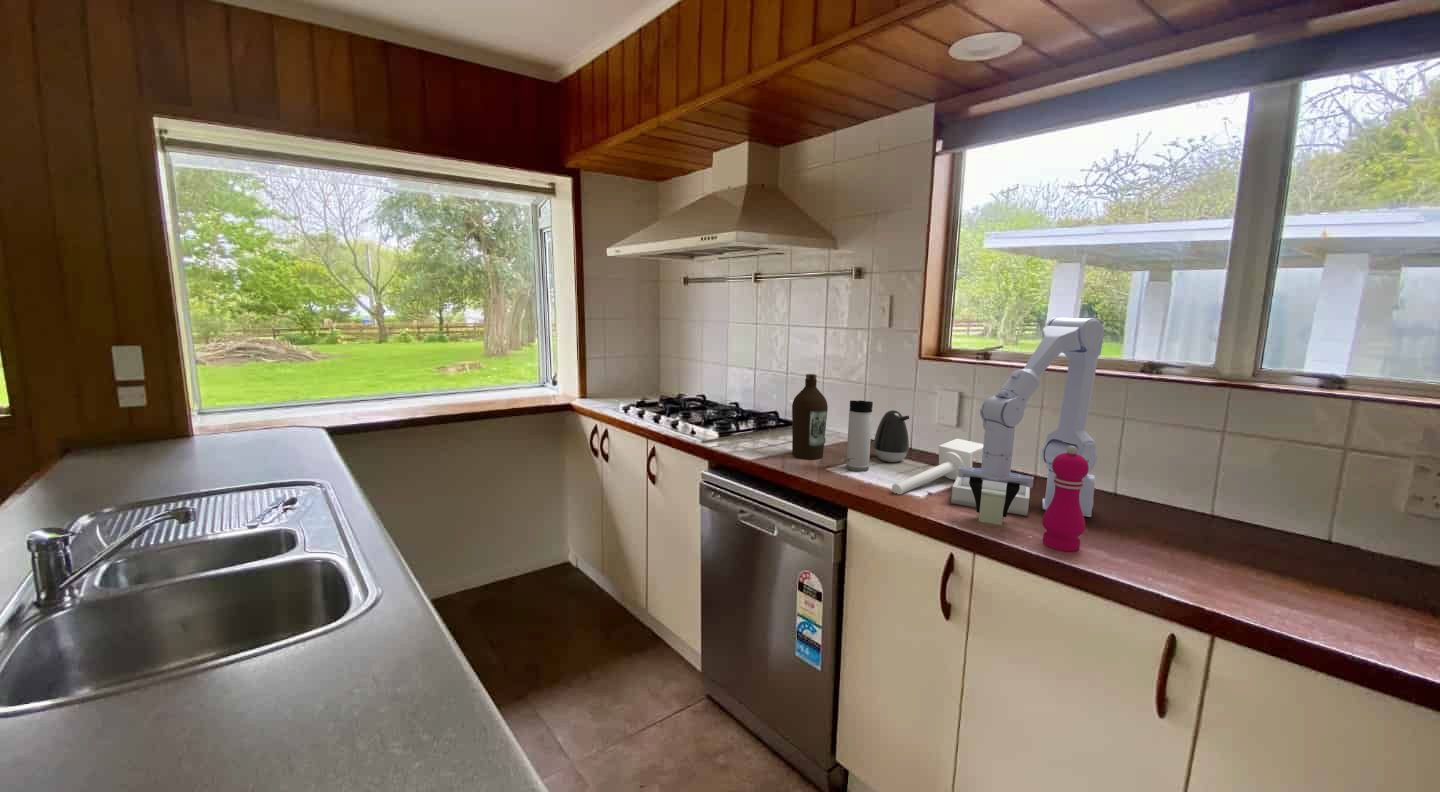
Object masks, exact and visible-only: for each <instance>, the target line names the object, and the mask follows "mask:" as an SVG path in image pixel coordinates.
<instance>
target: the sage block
mask: <svg viewBox="0 0 1440 792" xmlns="http://www.w3.org/2000/svg"><path fill="white" fill-rule="evenodd" d="M1004 502H1005V492H999V491H992V490H986V489H983V491H982V494H981V502H980V513H978V514H979V517H978V522H981V521H982V523H986V522H987V524H992V523H993V525H998V524H999V525H998V526H1002V525H1003V519H1004V517H1003V510H1004Z"/></svg>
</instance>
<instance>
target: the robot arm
mask: <svg viewBox="0 0 1440 792" xmlns="http://www.w3.org/2000/svg"><path fill="white" fill-rule="evenodd" d="M1041 331H1042V332H1041V337H1042V340H1041V341H1040V343H1039V344H1038V345H1037V347H1036V349H1035V351H1034V352H1033V354H1031V357H1030V358H1029V359H1028V360H1027V363H1026V364H1025V366H1024V368H1022V369H1019V368H1018V369H1015V370H1014V371H1012V373H1011V374H1010V376H1009V377H1008V379H1007V380H1006V381H1005V383H1004V384H1003V385H1002V387H1000V389H999V390H998V392H997V393H996V394H995V395H992V396H991V397H988V398H987V399H985V400H984V402H983V403H982V405H981V408H980V409H979V415H980V418H981V419H982V427H983V429H984V433H983V434H984V435H983V436H984V437H983V443H982V444H983V450H982V458H981V466H980V467H979V468H978V467H972V468H967V467H960V468H959V473H958V477H961V478H963V477H967V478H970V481H969V484H970V487H971V489H972V492H973V494H974V498H975V502H976V507H975V508H976V513H977V514H979V513H980V502H981V493H982V484H983V480H988V481H994V482H1001V483H1007V487H1006V497H1005V505H1004V510H1003V518H1007V514H1008V513H1007V512H1008V509H1009V506H1010V504H1011V502H1012V501H1013V499H1014V497H1015V496H1016V495H1017V493H1018V492H1019V489H1020V485H1022V486H1027V487H1029V488H1030V489H1032V488H1033V487H1034V476H1029V475H1024V474H1020V473H1016V472H1015V473H1014V472H1011V469H1012V459H1013V449H1014V439H1015V431H1016V430H1015V429H1016V426H1018V424H1020V422H1022V420H1023V418H1024V413H1025V409H1026V407H1027V403H1028V401H1029V400H1030V399H1031V397H1032V396H1033V395H1034V393H1035V392H1036V391H1037V389H1038V388H1039V387H1040V386H1041V385H1040V384H1041V382H1040V379H1039V378H1040V376H1041V375H1043V373H1044V372H1045V371H1046V370H1047V369H1048V367H1050V366H1051V364H1052V363H1053V362H1055V360H1056V359H1057V358H1058V357H1059V356H1060V354H1064V356H1066V358H1067V359H1068V367H1067V373H1066V379H1065V386H1064V390H1063V391H1064V392H1063V398H1062V404H1061V410H1060V416H1059V419H1058V420H1059V421H1058V427H1057V428H1055V429H1053V430H1052V431H1051V432H1049V433H1047V435H1046V440H1045V442H1044V444H1043V446H1042V448H1041V451H1040V452H1041V459H1042V461H1043V463H1044V464H1045V468H1046V469H1048V470H1047V478H1046V479H1047V480H1046V488H1045V495H1044V496H1045V497H1044V498H1042V509H1043V510H1044V511H1046V509H1047V508H1048V506H1049V505H1050V503H1051V502H1052V499H1053V497H1054V493H1055V484H1054V483H1053V481H1054V476H1056V474H1055V473H1054V471H1053V469H1052V463H1053V460H1054V459H1055V457H1056V456H1058V455H1060V454H1063V453H1068V452H1067V448H1068V447H1069V446H1075V447H1076V448H1077V450H1078V451H1077V453H1076V454H1077V455H1080V456H1082V457H1083V458H1084V459H1085V460H1086V461H1087V463H1088V467H1089V469H1088V473H1087V475H1086V476H1085V477H1084V478H1083V479H1082V480H1083V481H1084V483H1083V488H1082V489H1080V494H1079V502H1080V507H1081V510H1082V513H1083V516H1084V517H1088V518H1091V517H1092V512H1093V511H1092V509H1093V507H1094V495H1095V484H1096V476H1095V475H1093V474H1089V473H1091V471H1093V469H1095V467H1096V464H1097V454H1096V446H1097V442H1096V441H1095V440H1094V439H1093V438H1092V436H1090V435H1089V434H1088V433H1087V431H1086V428H1087V423H1088V416H1089V413H1090V408H1091V407H1090V406H1091V399H1092V395H1093V394H1092V393H1093V388H1094V383H1095V376H1096V372H1097V365H1098V360H1099V357H1100V356H1101V354H1102V353H1101V352H1102V346H1103V343H1104V336H1105V328H1104V326H1103V325H1102V323H1101V321H1099V319H1097V318H1095V317H1088V318H1081V317H1080V318H1078V317H1076V318H1075V317H1060V316H1054V317H1052V318H1050V319H1049V320H1048V321H1047V323H1046V324H1045V326H1044V327H1043V328H1042V330H1041Z"/></svg>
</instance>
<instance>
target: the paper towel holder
mask: <svg viewBox="0 0 1440 792" xmlns="http://www.w3.org/2000/svg"><path fill="white" fill-rule="evenodd" d="M983 444H984V443H979V442H975V441H970V440H966V439H962V438H955V439H953V440H950V441H948V442H945V443H941V444H939V445H938V465H935V466H933V467H931V468H929V469H927V470H925V471H923V472H919V473H918V474H915V475H913V476H910V477H907V478H905V479H903V480H901V481H897V482H896V483H894V484H892V485H891V491H892V492H894V494H896V493H897V495H899V494H900V495H902V494H905V493H908V492H909V491H911V490H913V489H916V488H918V487H920V486H923V485H925V484H927V483H930V482H932V481H934V480H937V479H939V478H941V477H945V478H948V479H950V480H956V479H957V476H958V473H959V468H960V467H967V468H973V455H974V454H976V453H978V452H980V451H983Z"/></svg>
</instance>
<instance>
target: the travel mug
mask: <svg viewBox="0 0 1440 792" xmlns="http://www.w3.org/2000/svg"><path fill="white" fill-rule="evenodd" d="M848 412H849V413H848V427H847V441H846V442H847V443H846V444H847V445H846V447H847V448H846V462H845V463H846V464H845V467H846V469H847V470H849V471H851V470H852V472H862V471H863V472H868V471H869V469H870V457H871V455H870V454H871V439H872V437H871V436H872V422H873V401H870V400H868V401H867V400H860V399H859V400H849V410H848ZM863 472H862V473H863Z"/></svg>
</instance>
